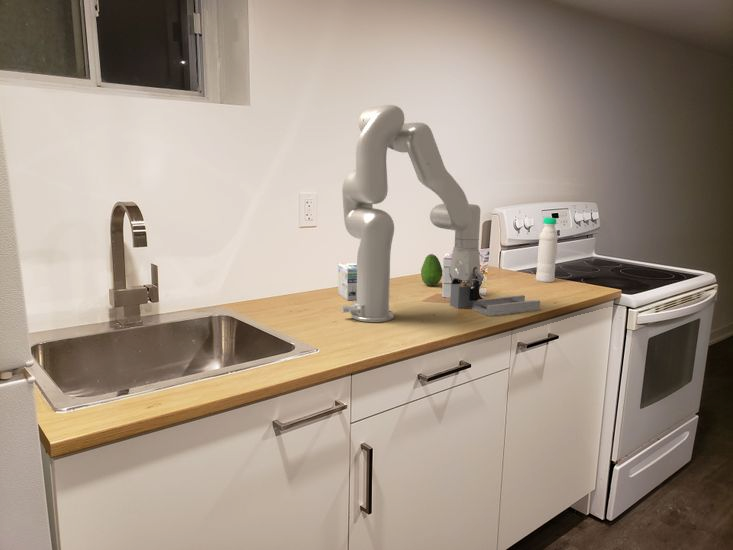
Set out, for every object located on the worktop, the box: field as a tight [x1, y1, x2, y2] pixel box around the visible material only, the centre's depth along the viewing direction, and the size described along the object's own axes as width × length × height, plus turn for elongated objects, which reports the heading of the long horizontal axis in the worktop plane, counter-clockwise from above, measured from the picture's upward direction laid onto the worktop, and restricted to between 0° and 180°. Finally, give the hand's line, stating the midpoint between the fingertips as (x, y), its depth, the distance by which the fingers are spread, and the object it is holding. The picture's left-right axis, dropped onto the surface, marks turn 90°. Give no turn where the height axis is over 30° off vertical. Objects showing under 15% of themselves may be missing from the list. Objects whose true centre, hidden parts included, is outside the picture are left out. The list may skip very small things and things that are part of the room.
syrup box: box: [441, 253, 452, 299], centre depth 191 cm, size 6×6×14 cm
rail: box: [471, 294, 542, 317], centre depth 175 cm, size 20×9×3 cm, turn 116°
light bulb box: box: [337, 262, 357, 301], centre depth 188 cm, size 11×7×11 cm, turn 20°
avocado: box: [420, 253, 443, 287], centre depth 208 cm, size 8×8×12 cm
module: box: [449, 281, 473, 310], centre depth 179 cm, size 7×4×8 cm, turn 116°
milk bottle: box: [535, 217, 559, 283], centre depth 219 cm, size 7×7×25 cm
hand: (464, 296), depth 179 cm, fingers open, 9 cm apart
